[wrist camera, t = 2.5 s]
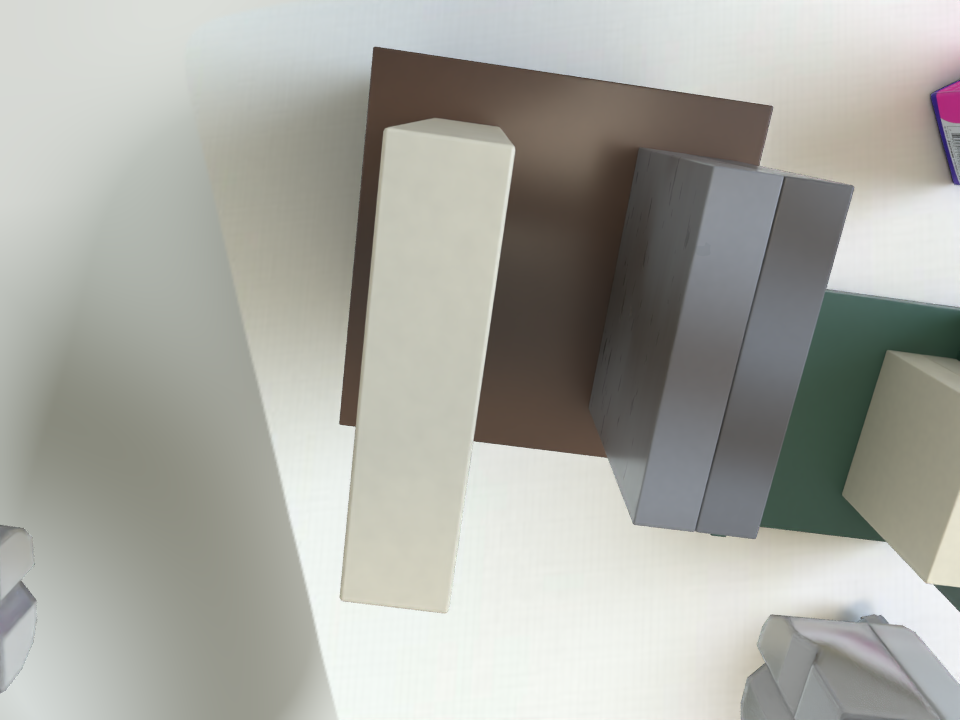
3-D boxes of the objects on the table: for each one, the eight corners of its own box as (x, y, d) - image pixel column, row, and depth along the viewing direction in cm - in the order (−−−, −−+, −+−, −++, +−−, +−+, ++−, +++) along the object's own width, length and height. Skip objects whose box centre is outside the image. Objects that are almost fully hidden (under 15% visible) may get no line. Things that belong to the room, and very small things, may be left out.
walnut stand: (412, 69, 44) (326, 18, 18) (657, 106, 44) (911, 106, 19) (386, 311, 48) (287, 547, 22) (611, 340, 49) (766, 602, 23)
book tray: (756, 279, 48) (836, 328, 37) (977, 309, 48) (1116, 366, 38) (697, 512, 52) (753, 613, 42) (899, 536, 53) (1003, 642, 43)
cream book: (432, 117, 27) (382, 126, 14) (500, 127, 27) (516, 144, 14) (402, 385, 30) (338, 602, 17) (464, 393, 30) (448, 615, 17)
